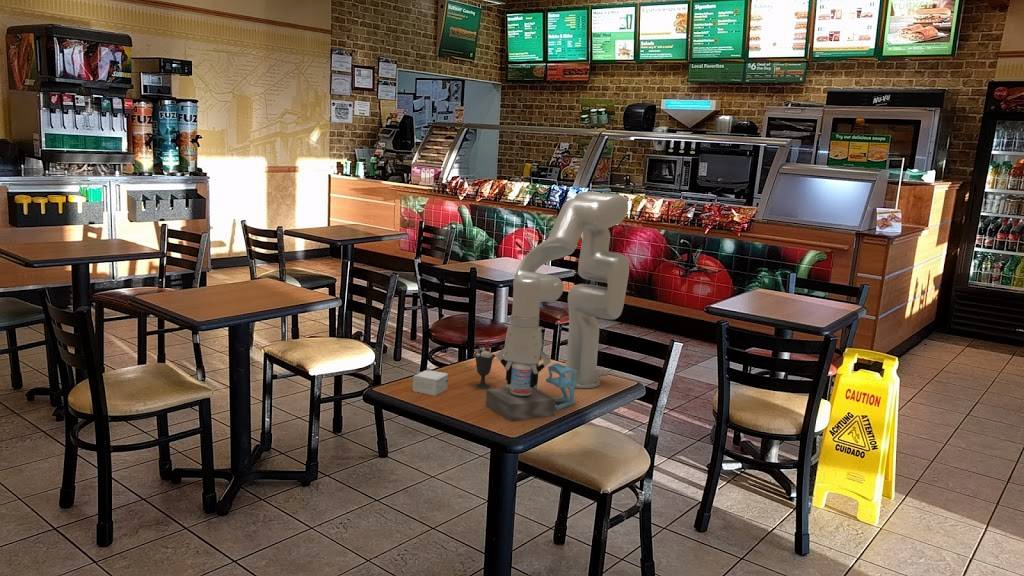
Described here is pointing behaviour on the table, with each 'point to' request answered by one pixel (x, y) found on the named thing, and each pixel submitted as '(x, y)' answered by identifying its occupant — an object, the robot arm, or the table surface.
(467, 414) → the table surface
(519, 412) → the riser block
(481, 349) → the sundae
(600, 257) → the robot arm
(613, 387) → the table surface
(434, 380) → the small box
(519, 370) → the pill bottle
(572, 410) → the table surface
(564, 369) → the chair
